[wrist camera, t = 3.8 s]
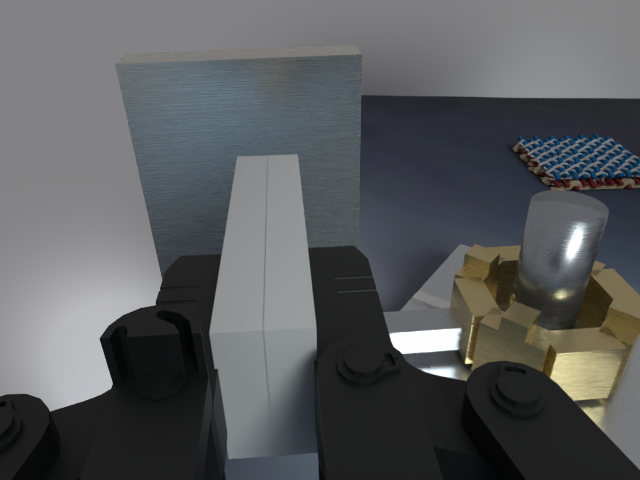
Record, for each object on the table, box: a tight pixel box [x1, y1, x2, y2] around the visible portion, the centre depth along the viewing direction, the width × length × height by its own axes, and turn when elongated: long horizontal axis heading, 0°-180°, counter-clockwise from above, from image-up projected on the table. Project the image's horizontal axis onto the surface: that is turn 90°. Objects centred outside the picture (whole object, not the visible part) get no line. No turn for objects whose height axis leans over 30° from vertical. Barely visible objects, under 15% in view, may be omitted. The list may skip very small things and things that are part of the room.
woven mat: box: [513, 134, 640, 190], centre depth 51 cm, size 10×11×2 cm
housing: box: [400, 190, 640, 470], centre depth 26 cm, size 14×14×10 cm
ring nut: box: [115, 45, 640, 401], centre depth 23 cm, size 22×8×15 cm, turn 94°
